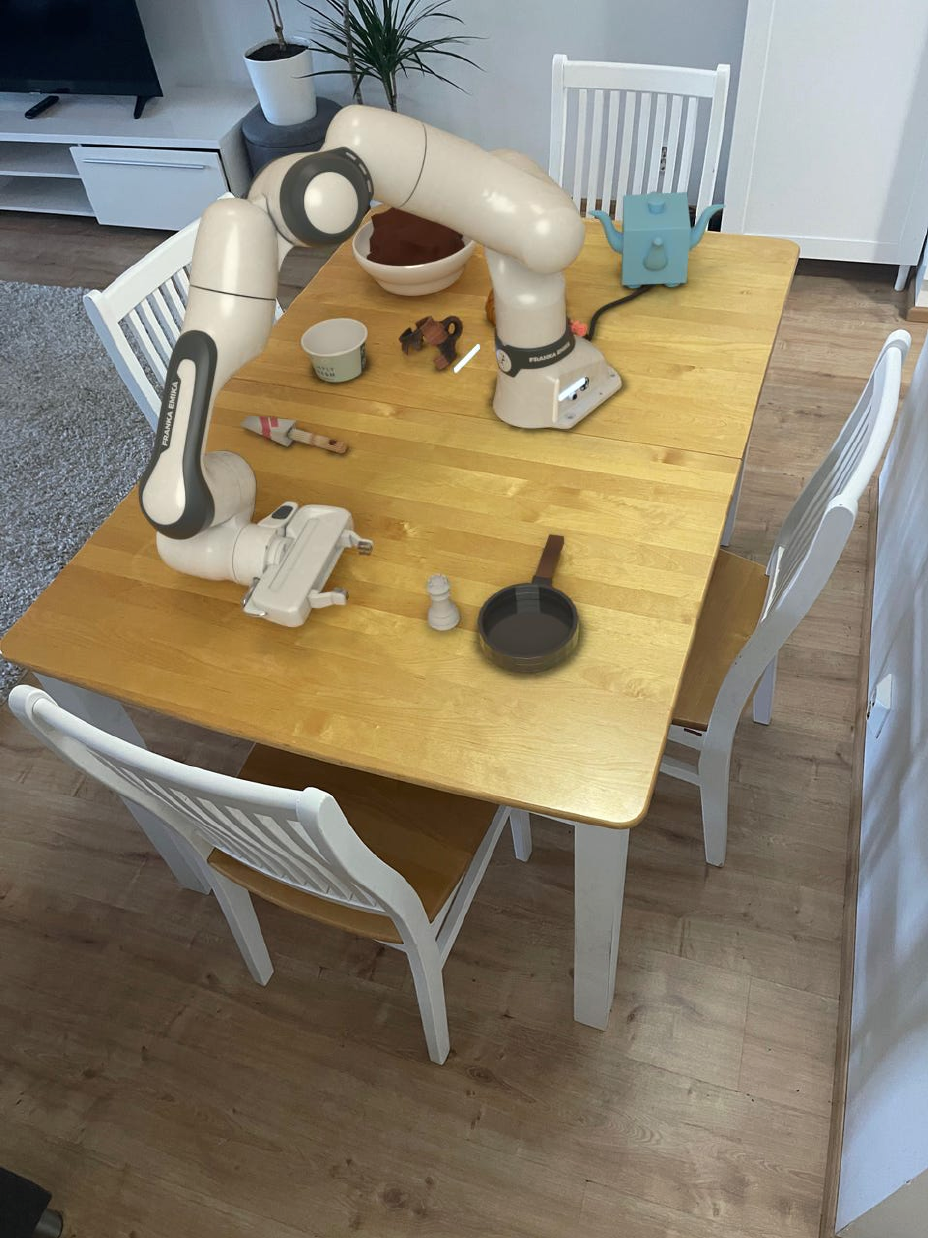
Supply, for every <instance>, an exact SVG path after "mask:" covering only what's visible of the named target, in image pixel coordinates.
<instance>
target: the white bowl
mask: <svg viewBox="0 0 928 1238" xmlns="http://www.w3.org/2000/svg"><path fill="white" fill-rule="evenodd" d="M370 218H371V219H370V220H368V221H367V222H366V223H364V224H363V225H362V226H361V227H359V228H358V229H357V231H356V232H355V233H354V235H353V239H352V243H351V251H352V255H353V257H354V259H355V261H356V262H357V264H358V265H359V266H360V268H361V269H363V270H364V271H365V272H366V273H367V274H368V275H370V276H371V277H372V278H373V279H374V281H375V282H376V283H377V284H378V285H379V286H380V288H382V289H383V290H384V291H386V292H388V293H391V294H395V295H399V296H404V297H405V296H406V297H419V296H420V297H421V296H427V295H431V294H435V293H438V292H440V291H442V290H445V289H447V288H449V287H451V286H452V285H454V284H455V283H456V282H457V281H458V280H460V278H461V276H462V275H463V273H464V270H465V269H466V265H467V263H468V262H469V261H470V260H471V258H472V256H473V254H474V253H475V251H476V249H477V247H478V244H479V243H477V242H475V241H473V240H471V239H469V238H468V237H466V236H464V235H462V234H460V233H458V232H457V231H455V230H453V229H450V228H448V227H446V226H444V225H441V224H439V223H436V222H433V221H430V220H428V219H425V218H422V217H419V216H416V215H414V214H411V213H408V212H405V211H402V210H399V209H396V208H394V207H391V206H390V208H388V209H387V210H385V211H383V212H378V213H377V212H376V213H375V214H373V215H371V216H370Z"/></svg>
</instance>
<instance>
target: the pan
mask: <svg viewBox="0 0 928 1238" xmlns="http://www.w3.org/2000/svg"><path fill="white" fill-rule="evenodd" d="M579 619H580V618H579V613H578V609H577V607H576V605H575V603H574V602H573V600H572V599H571V598H570V597H569V596H568V595H567V594H565V592H564V591H562V590H561V589H560V590H559V589H558V588H556V587H554V586H549V585H545V584H541V583H531V582H522V583H515V584H511V585H509V586H505V587H503V588H501V589H499V590H498V591H496V592H494V593H493V594H492V595H491V596H489V598H487V599H486V601H485V602H484V603H483V605H482V606H481V608H480V609H479V612H478V616H477V629H478V637H479V644H480V647H481V649H482V651H483V653H484V655H485V656H486V657H487V658H488V660H489V661H491V662H492V664H494V665H496V666H497V667H499V668H501V669H503V670H505V671H509V672H512V673H516V674H538V673H543V672H546V671H550V670H552V669H554V668H557V667H558V666H560V665H561V664H563V663H564V662H565V661H566V660H567V659H568V658H570V656H572V654H573V653H574V651H575V649H576V648H577V647H576V646H577V644H578V641H579V633H580V632H579V631H580V629H579V628H580V627H579V626H580V625H579Z"/></svg>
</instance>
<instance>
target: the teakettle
mask: <svg viewBox="0 0 928 1238" xmlns="http://www.w3.org/2000/svg"><path fill="white" fill-rule="evenodd" d="M725 207H726V204H722V203H721V204H719V203H718V204H712V205H711V204H710V205H709V206H707V207H706V208H705V209H703V211H702V212H701V213H700V216H699V217H698V219H697V222H696V223H695V224H694V226H691V218H690V217H689V214H690V209H689V200H688V192H686V191H681V192H662V193H661V192H660V193H659V192H658V191H650V192H649V193H642V194H624V195H623V196H622V222H621V231H618V229H616V228H615V226H614V224H613V221H612V219H611V217H610V215H609V214H608V213H607V212H606V211H604V210H601V209H600V210H599V209H595V210H594V209H593V210H589V211H587V214H589V215H591V216H593V217H595V218H596V219H598V220H599V222H600V223H601V225H602V227H603V231H604V234H605V237H606V242H607V243H608V245H609V247H610V248H611V250H613V251H614V252H615V253H617V254H619V255H621V285H622V286H626V287H627V288H630V289H638V288H640V287H642V285H649V284H657V285H662V284H663V285H664V286H666V287H668V288H675V287H678V286H680V285H681V284H686V283H687V278H688V267H689V254H690V251H692V250H693V249H694V248H696V247H697V246H698V245H699V244H700V242H701V240H702V239H703V236H704V234H705V231H706V229H707V227H708V224H709V222H710V219H712V218H713V216H714V214H716V213H717V212H718V211H721V210H722V209H724V208H725Z"/></svg>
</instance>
